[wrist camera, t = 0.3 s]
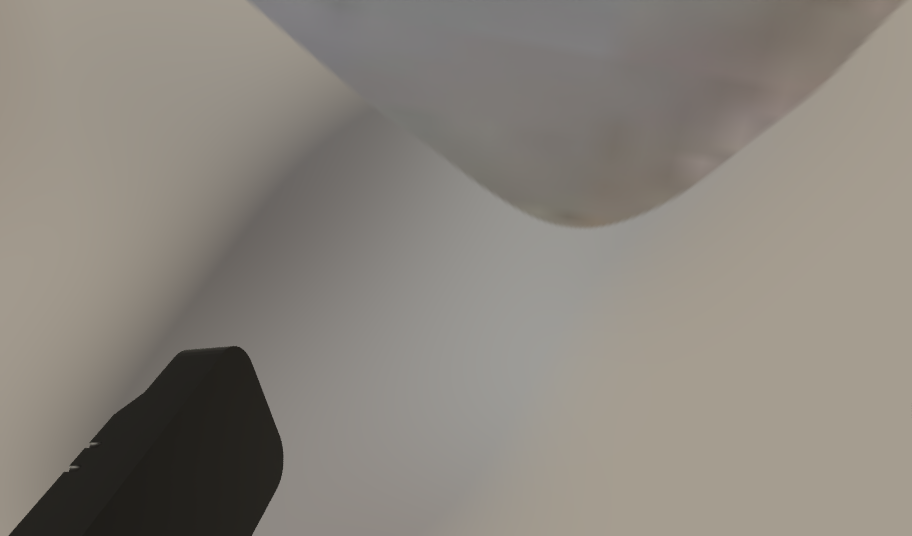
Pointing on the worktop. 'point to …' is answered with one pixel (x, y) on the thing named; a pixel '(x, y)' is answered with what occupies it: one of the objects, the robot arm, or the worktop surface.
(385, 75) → the worktop surface
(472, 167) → the worktop surface
